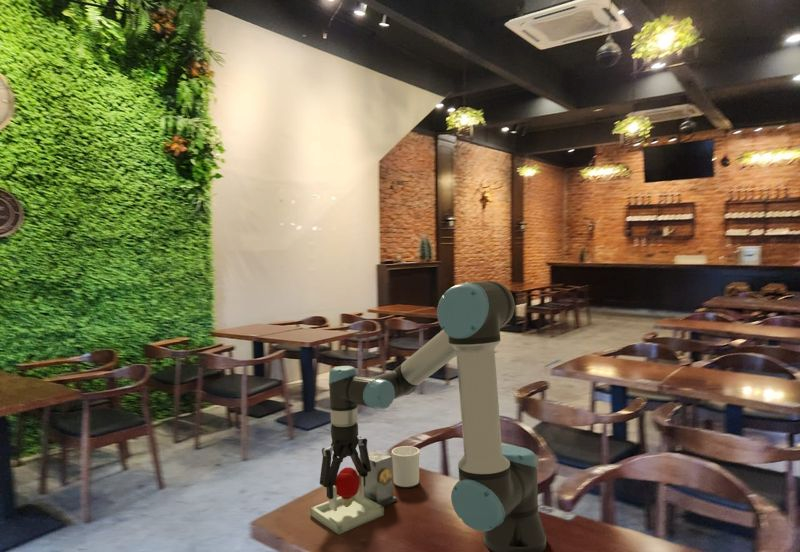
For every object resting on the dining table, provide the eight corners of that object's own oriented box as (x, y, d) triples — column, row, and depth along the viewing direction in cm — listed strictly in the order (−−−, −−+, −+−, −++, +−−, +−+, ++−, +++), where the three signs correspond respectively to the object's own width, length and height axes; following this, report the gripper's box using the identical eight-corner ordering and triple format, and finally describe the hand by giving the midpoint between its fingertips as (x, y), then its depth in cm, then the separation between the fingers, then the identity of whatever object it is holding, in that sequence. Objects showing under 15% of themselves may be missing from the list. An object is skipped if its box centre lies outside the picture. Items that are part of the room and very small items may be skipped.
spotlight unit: (396, 501, 151) (395, 457, 150) (378, 508, 146) (376, 463, 146) (376, 490, 158) (374, 448, 158) (357, 497, 154) (356, 454, 153)
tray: (384, 515, 142) (383, 507, 142) (338, 534, 133) (338, 526, 133) (354, 498, 153) (354, 491, 153) (310, 515, 143) (310, 507, 143)
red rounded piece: (354, 515, 138) (353, 478, 137) (329, 513, 139) (328, 477, 139) (363, 499, 147) (362, 465, 146) (340, 498, 148) (339, 463, 148)
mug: (417, 490, 157) (416, 456, 157) (389, 488, 159) (388, 455, 159) (424, 475, 168) (423, 444, 168) (397, 474, 170) (396, 443, 170)
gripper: (366, 412, 152) (369, 488, 152) (303, 428, 138) (306, 511, 139) (382, 417, 146) (385, 496, 147) (318, 434, 133) (321, 521, 133)
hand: (347, 503), depth 143 cm, fingers closed on red rounded piece, 8 cm apart
